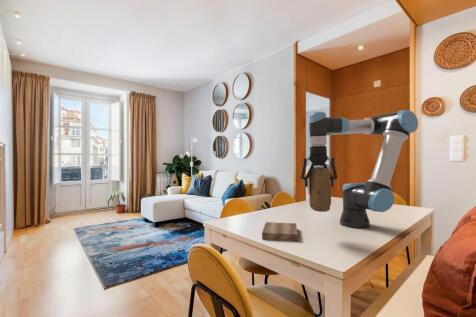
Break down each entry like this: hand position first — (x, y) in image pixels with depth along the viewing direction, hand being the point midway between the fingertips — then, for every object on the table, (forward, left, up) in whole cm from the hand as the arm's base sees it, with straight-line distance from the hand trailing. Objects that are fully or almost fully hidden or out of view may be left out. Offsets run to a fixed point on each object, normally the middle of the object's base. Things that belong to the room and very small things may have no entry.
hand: (319, 194), depth 116 cm
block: (0, 0, -8) cm, 8 cm away
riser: (+18, -3, -21) cm, 28 cm away
